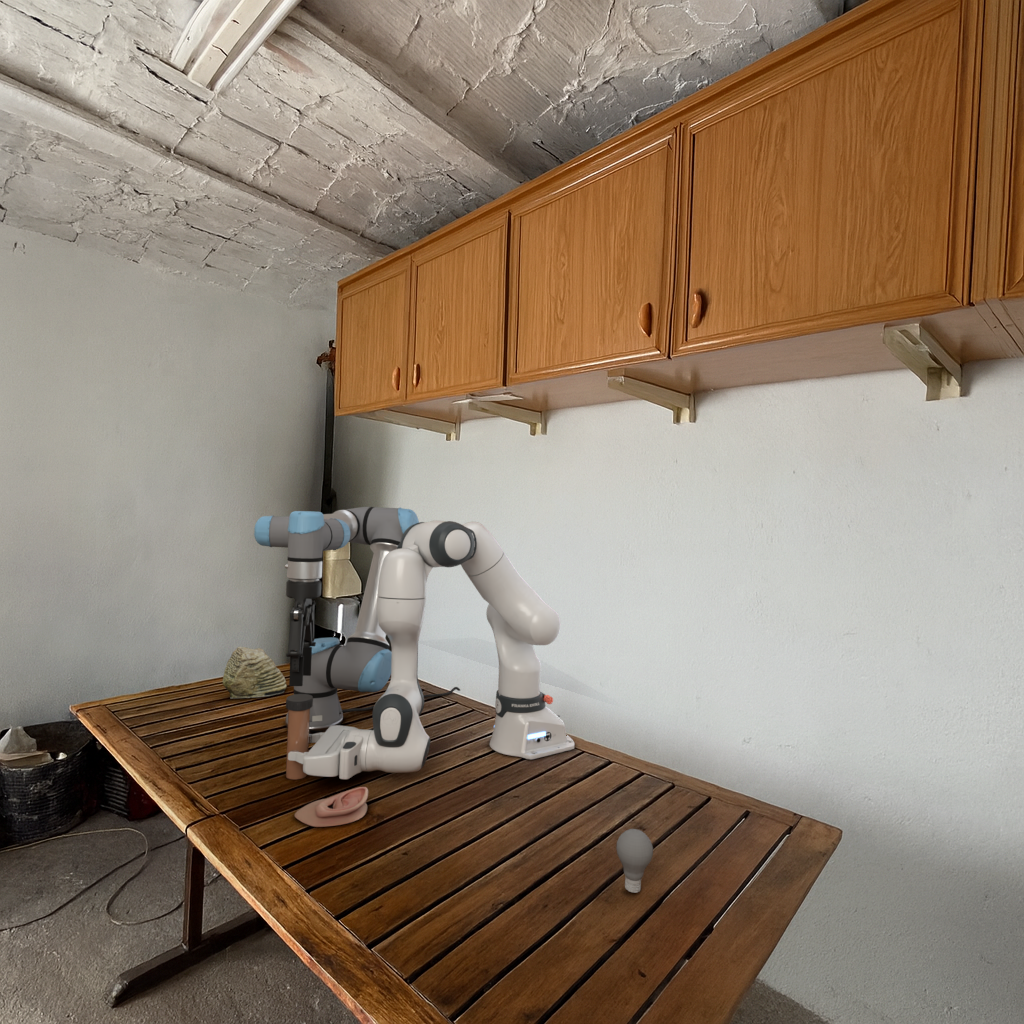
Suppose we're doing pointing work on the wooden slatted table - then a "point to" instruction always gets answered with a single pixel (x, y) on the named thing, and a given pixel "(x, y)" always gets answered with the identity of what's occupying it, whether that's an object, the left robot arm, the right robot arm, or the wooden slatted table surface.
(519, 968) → the wooden slatted table surface
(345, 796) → the anatomical model
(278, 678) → the fossil
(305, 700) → the lid
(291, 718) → the jar
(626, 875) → the light bulb
